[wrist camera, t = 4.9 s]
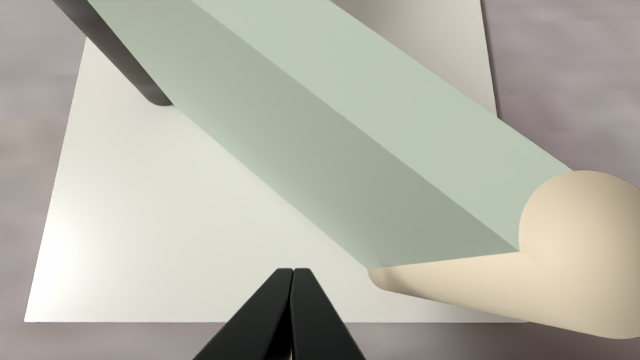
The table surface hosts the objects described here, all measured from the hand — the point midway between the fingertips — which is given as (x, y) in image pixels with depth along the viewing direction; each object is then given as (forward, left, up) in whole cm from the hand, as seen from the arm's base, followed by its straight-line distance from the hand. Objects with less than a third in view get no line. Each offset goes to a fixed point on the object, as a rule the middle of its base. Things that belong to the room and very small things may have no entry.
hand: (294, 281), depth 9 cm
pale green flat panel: (+4, -1, -6) cm, 7 cm away
